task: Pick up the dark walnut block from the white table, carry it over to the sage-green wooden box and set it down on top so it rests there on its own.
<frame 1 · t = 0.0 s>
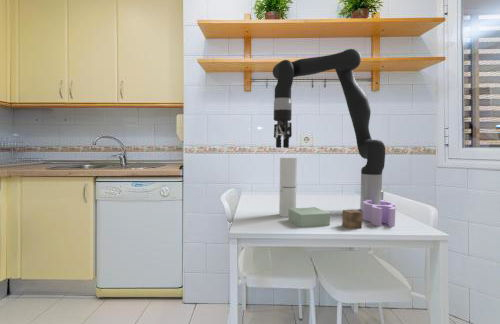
hand: (282, 147, 136), 29 cm above the table, tool pointing down, fingers open, 8 cm apart
cylindrical container: (287, 215, 139), on the table
clip: (379, 221, 131), on the table
walnut block: (351, 226, 120), on the table
green box: (308, 223, 126), on the table
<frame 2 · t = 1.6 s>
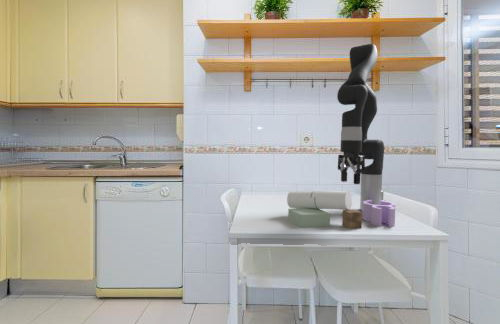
hand: (350, 182, 120), 16 cm above the table, tool pointing down, fingers open, 8 cm apart
cylindrical container: (290, 199, 138), point 7 cm above the table, touching green box
green box: (308, 223, 126), on the table, touching cylindrical container
everything else where it was.
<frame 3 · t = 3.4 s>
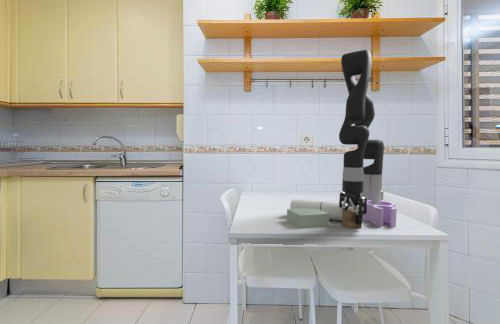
hand: (351, 222, 120), 2 cm above the table, tool pointing down, fingers open, 8 cm apart
cylindrical container: (291, 207, 138), point 4 cm above the table
green box: (307, 223, 125), on the table
everything else where it was.
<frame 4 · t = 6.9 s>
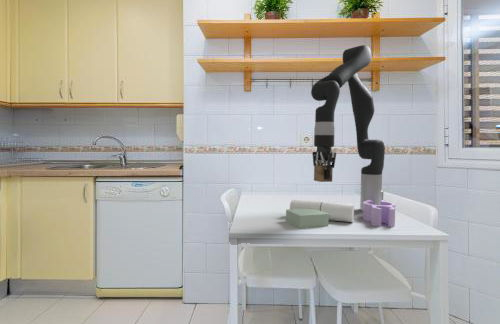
hand: (323, 178, 123), 18 cm above the table, tool pointing down, fingers closed on walnut block, 5 cm apart
cylindrical container: (291, 208, 137), point 4 cm above the table, touching green box
walnut block: (322, 181, 123), point 17 cm above the table, touching gripper
green box: (306, 224, 125), on the table, touching cylindrical container
everything else where it was.
when the fingers open (7 cm above the table, at t = 10.0 s): walnut block drops 2 cm, point 5 cm above the table.
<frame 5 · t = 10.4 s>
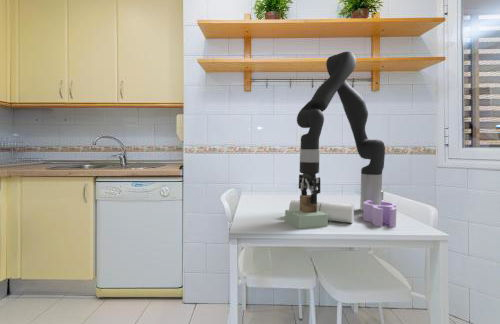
hand: (308, 202, 126), 8 cm above the table, tool pointing down, fingers open, 8 cm apart
cylindrical container: (291, 208, 136), point 4 cm above the table
walnut block: (308, 211, 126), point 5 cm above the table
green box: (305, 224, 124), on the table
everything else where it was.
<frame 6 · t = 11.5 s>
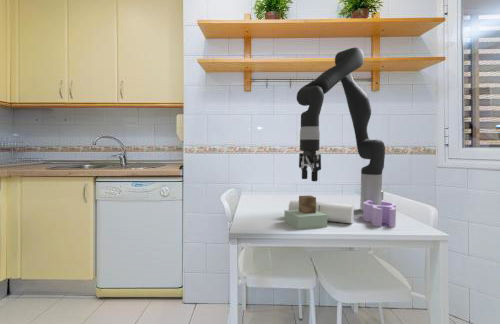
hand: (309, 180, 125), 17 cm above the table, tool pointing down, fingers open, 8 cm apart
walnut block: (307, 211, 124), point 5 cm above the table, touching green box
green box: (305, 225, 123), on the table, touching walnut block
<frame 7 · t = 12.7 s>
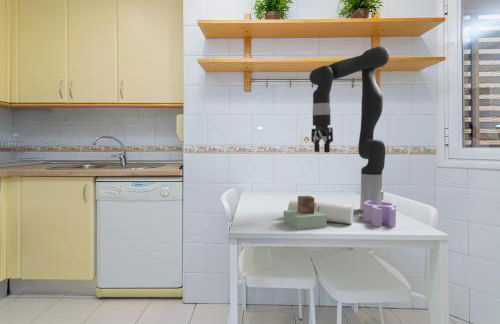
hand: (321, 152, 138), 27 cm above the table, tool pointing down, fingers open, 8 cm apart
walnut block: (305, 212, 123), point 5 cm above the table
green box: (304, 225, 123), on the table
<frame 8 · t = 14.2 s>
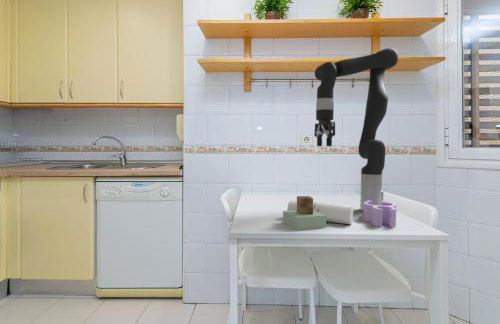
hand: (324, 146, 142), 30 cm above the table, tool pointing down, fingers open, 8 cm apart
walnut block: (304, 212, 122), point 5 cm above the table, touching green box
green box: (303, 226, 122), on the table, touching walnut block
at the end: walnut block inside the target area on the green box (0.2 cm from its centre), point 5.0 cm above the green box's base; walnut block tilted 1°; the gripper is holding nothing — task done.
